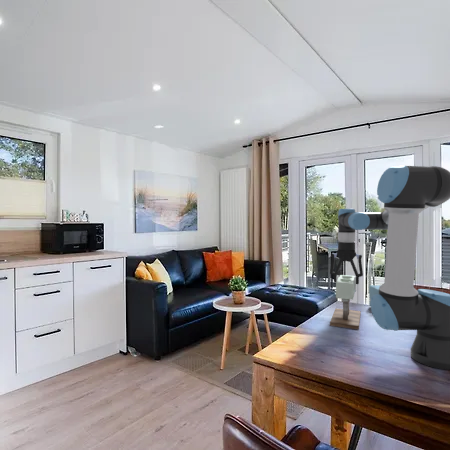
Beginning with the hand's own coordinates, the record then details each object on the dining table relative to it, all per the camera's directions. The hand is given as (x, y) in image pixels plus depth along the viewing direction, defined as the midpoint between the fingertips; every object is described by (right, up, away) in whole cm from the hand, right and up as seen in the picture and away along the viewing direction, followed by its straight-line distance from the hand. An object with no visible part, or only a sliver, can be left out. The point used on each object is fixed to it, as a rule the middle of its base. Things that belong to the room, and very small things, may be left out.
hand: (346, 290), depth 151 cm
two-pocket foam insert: (0, -2, 0) cm, 2 cm away
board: (+1, -14, +2) cm, 14 cm away
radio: (+26, -14, +16) cm, 34 cm away
